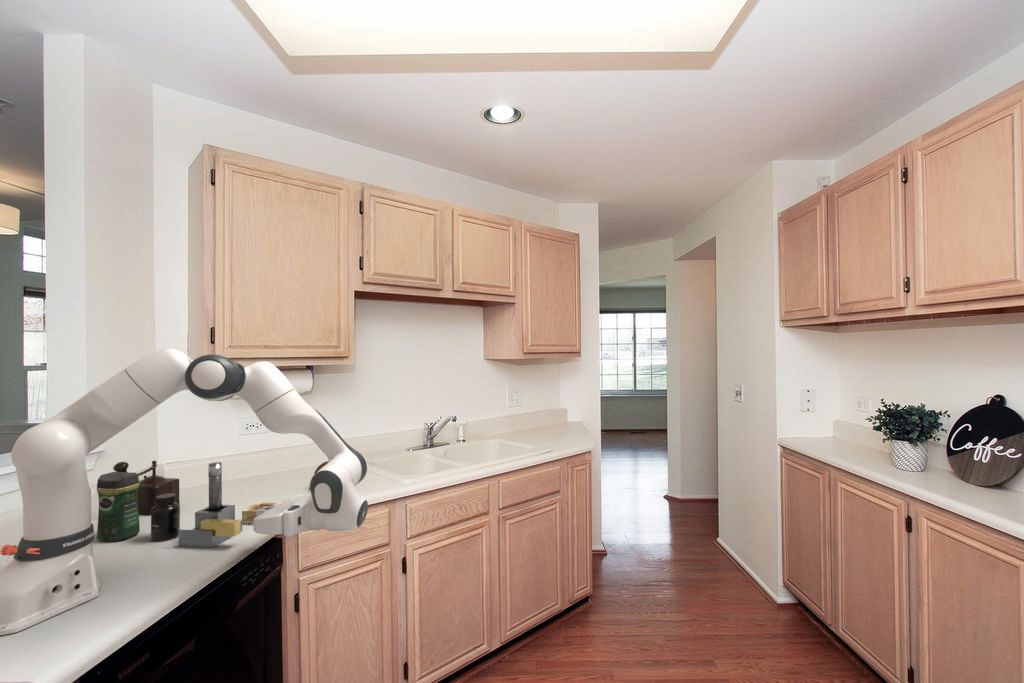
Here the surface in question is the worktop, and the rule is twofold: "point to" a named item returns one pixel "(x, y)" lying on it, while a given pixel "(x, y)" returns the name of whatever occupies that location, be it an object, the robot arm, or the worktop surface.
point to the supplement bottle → (165, 518)
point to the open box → (254, 511)
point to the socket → (204, 537)
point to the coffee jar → (118, 506)
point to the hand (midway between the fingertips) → (259, 511)
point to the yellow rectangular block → (221, 527)
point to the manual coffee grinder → (151, 487)
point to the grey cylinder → (215, 486)
